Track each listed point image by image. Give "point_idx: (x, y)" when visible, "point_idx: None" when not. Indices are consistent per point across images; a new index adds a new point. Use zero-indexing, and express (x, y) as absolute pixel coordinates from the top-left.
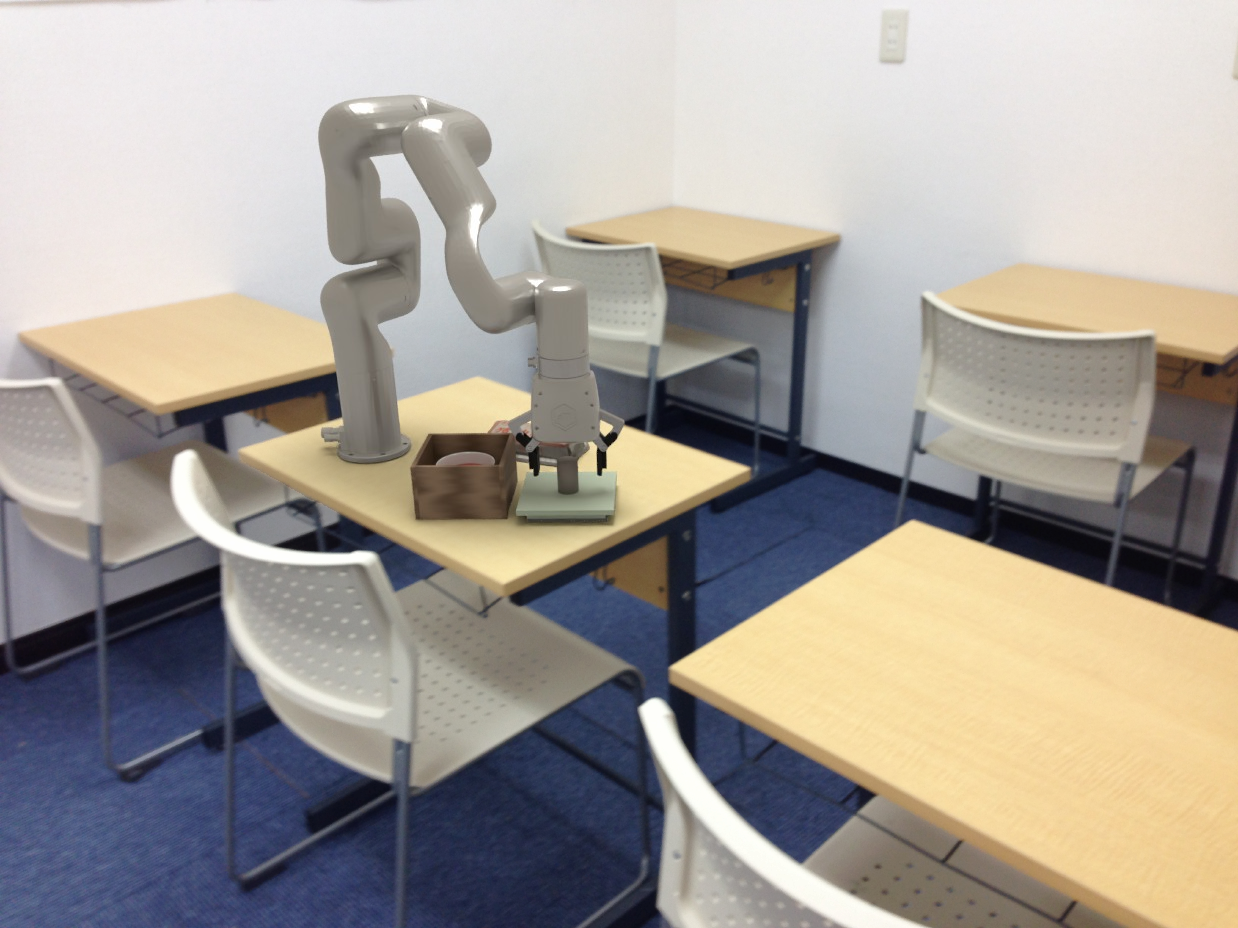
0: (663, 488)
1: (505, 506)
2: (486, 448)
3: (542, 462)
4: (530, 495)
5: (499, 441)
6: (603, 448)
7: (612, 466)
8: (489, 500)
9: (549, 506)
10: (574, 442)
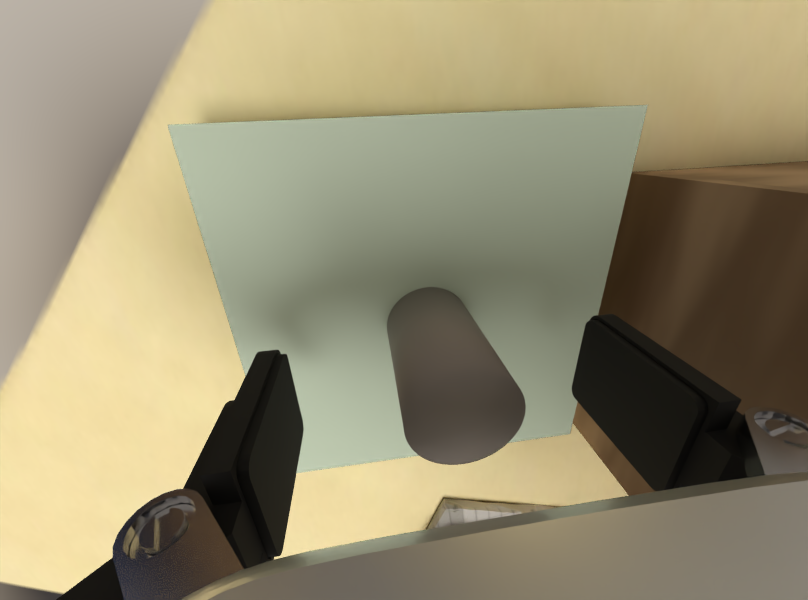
0: (125, 435)
1: (669, 176)
2: None
3: (507, 508)
4: (571, 268)
5: None
6: (169, 519)
7: (326, 521)
8: (756, 175)
9: (498, 160)
10: (451, 526)
